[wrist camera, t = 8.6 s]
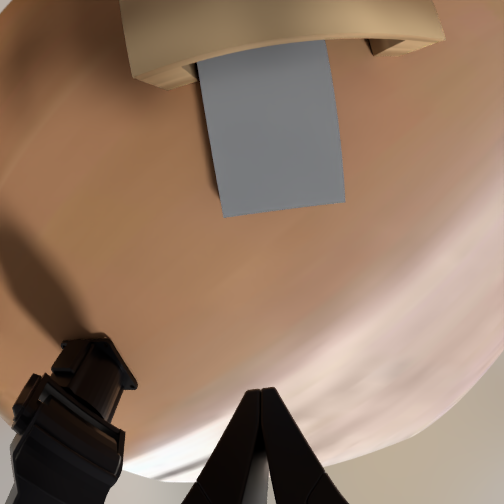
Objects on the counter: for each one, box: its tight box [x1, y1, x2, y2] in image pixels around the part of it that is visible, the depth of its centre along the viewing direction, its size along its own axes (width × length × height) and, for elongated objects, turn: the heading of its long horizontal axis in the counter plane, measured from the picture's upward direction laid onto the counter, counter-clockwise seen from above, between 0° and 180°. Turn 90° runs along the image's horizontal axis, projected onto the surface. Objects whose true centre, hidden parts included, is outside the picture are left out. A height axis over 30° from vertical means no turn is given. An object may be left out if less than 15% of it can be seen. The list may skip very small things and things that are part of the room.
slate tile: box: [197, 40, 345, 218], centre depth 15 cm, size 14×7×2 cm, turn 8°
